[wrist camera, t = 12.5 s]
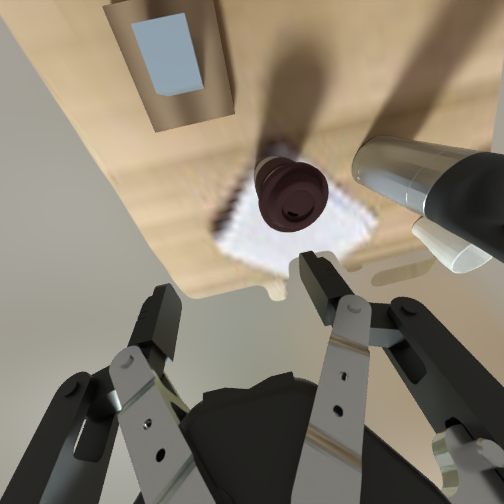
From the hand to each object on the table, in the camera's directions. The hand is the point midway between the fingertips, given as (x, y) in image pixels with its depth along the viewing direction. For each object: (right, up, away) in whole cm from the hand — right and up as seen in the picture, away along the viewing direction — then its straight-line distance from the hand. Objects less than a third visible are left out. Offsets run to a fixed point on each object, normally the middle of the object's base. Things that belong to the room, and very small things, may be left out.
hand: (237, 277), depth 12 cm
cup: (+46, +9, +40) cm, 62 cm away
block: (-8, +25, +13) cm, 30 cm away
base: (-9, +27, +15) cm, 32 cm away
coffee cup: (+5, +17, +26) cm, 31 cm away
